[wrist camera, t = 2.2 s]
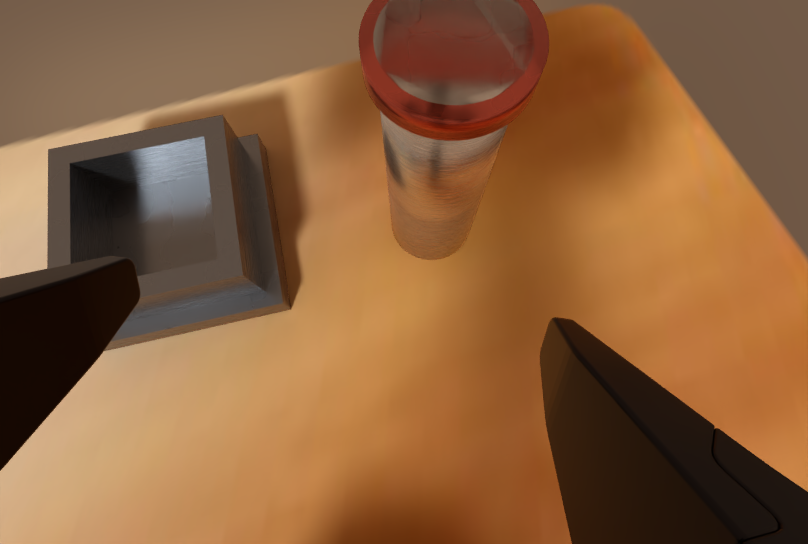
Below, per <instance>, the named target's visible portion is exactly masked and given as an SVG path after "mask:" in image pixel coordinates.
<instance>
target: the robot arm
mask: <svg viewBox="0 0 808 544" xmlns="http://www.w3.org/2000/svg"><path fill="white" fill-rule="evenodd" d="M139 299H140V287H139V282H138V278H137V273H136V268H135V265H134V263H133V261H132V260H130V259H129V258H124V257H117V256H107V257H102V258H97V259H92V260H88V261H83V262H78V263H73V264H68V265H63V266H59V267H54V268H49V269H44V270H39V271H34V272H30V273H25V274H20V275H15V276H10V277H5V278H1V279H0V471H1V470H2V468H3V467H4V466H5V465H6V464H7V463H8V462H9V460H10V459H11V458H12V457H13V456H14V455H15V454H16V452H17V451H18V450H19V449H20V448H21V447H22V446H23V444H24V443H25V442H26V441H27V440H28V439H29V437H30V436H31V435H32V434H33V433H34V432H35V431H36V429H37V428H38V427H39V426H40V425H41V424H42V423H43V421H44V420H45V419H46V418H47V417H48V416H49V415H50V413H51V412H52V411H53V410H54V409H55V408H56V406H57V405H58V404H59V403H60V402H61V401H62V400H63V398H64V397H65V396H66V395H67V394H68V393H69V392H70V390H71V389H72V388H73V387H74V386H75V385H76V384H77V382H78V381H79V380H80V379H81V378H82V377H83V376H84V374H85V373H86V372H87V371H88V370H89V369H90V367H91V366H92V365H93V364H94V363H95V362H96V360H97V359H98V358H99V357H100V355H101V354H102V353H103V351H104V350H105V349H106V347H107V346H108V344H109V343H110V342H111V340H112V339H113V337H114V336H115V335H116V333H117V332H118V330H119V329H120V328H121V326H122V325H123V323H124V322H125V321H126V319H127V318H128V316H129V315H130V313H131V312H132V311H133V309H134V308H135V306H136V305H137V304H138V302H139ZM540 367H541V378H542V389H543V400H544V410H545V420H546V427H547V432H548V437H549V441H550V446H551V451H552V455H553V460H554V464H555V469H556V473H557V478H558V482H559V487H560V491H561V496H562V500H563V505H564V509H565V514H566V518H567V523H568V527H569V532H570V537H571V541H572V544H808V492H807V491H806V490H804V489H803V488H801V487H800V486H798V485H797V484H795V483H794V482H792V481H791V480H789V479H788V478H787V477H785V476H784V475H782V474H781V473H779V472H778V471H776V470H775V469H773V468H772V467H770V466H769V465H768V464H766V463H765V462H764V461H762V460H761V459H759V458H758V457H757V456H755V455H754V454H752V453H751V452H750V451H748V450H747V449H746V448H744V447H743V446H741V445H740V444H739V443H737V442H736V441H735V440H733V439H732V438H731V437H729V436H728V435H727V434H725V433H724V432H723V431H721V430H720V429H718V428H716V429H714V428H715V427H714V425H713V424H712V423H710V422H709V421H708V420H706V419H705V418H704V417H702V416H701V415H700V414H698V413H697V412H696V411H694V410H693V409H692V408H690V407H689V406H688V405H686V404H685V403H684V402H682V401H681V400H680V399H678V398H677V397H675V396H674V395H673V394H671V393H670V392H669V391H667V390H666V389H665V388H663V387H662V386H661V385H659V384H658V383H657V382H655V381H654V380H653V379H651V378H650V377H649V376H647V375H646V374H645V373H643V372H642V371H641V370H639V369H638V368H637V367H635V366H634V365H633V364H631V363H630V362H628V361H627V360H626V359H624V358H623V357H622V356H620V355H619V354H618V353H616V352H615V351H614V350H612V349H611V348H610V347H608V346H607V345H606V344H604V343H603V342H602V341H600V340H599V339H598V338H596V337H595V336H594V335H592V334H591V333H590V332H588V331H587V330H586V329H584V328H583V327H582V326H580V325H579V324H577V323H576V322H575V321H573V320H571V319H564V318H557V317H555V318H552V319H551V320H550V322H549V325H548V328H547V331H546V334H545V338H544V341H543V344H542V347H541V352H540Z"/></svg>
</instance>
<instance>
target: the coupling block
mask: <svg viewBox="0 0 808 544" xmlns="http://www.w3.org/2000/svg"><path fill="white" fill-rule="evenodd" d="M107 256H117V257H124V258H129V259H130V260H132V261H133V263H134V265H135V268H136V273H137V278H138V282H139V287H140V299H139V302H138V304H137V305H136V306H135V308H134V309H133V311H132V312H131V313H130V315H129V316H128V318H127V319H126V321H125V322H124V323H123V325H122V326H121V328H120V329H119V330H118V332H117V333H116V335H115V336H114V337H113V339H112V340H111V342H110V343H109V344H108V346H107V347H106V349H105V350H104V351H107V350H111V349H116V348H120V347H125V346H129V345H134V344H138V343H143V342H147V341H151V340H156V339H160V338H165V337H169V336H174V335H178V334H183V333H187V332H192V331H196V330H201V329H205V328H210V327H214V326H218V325H223V324H227V323H232V322H236V321H241V320H245V319H250V318H254V317H259V316H263V315H268V314H272V313H277V312H281V311H286V310H290V309H291V307H290V300H289V294H288V287H287V281H286V275H285V268H284V262H283V255H282V249H281V243H280V236H279V230H278V223H277V217H276V211H275V204H274V198H273V191H272V185H271V179H270V172H269V166H268V159H267V153H266V148H265V146H264V145H263V143H262V141H261V139H260V138H259V136H258V134H254V135H249V136H244V137H239V138H237V136H236V135H235V133H234V132H233V130H232V128H231V127H230V125H229V124H228V122H227V121H226V119H225V118H224V116H223V115H220V116H215V117H209V118H204V119H199V120H194V121H189V122H184V123H179V124H174V125H169V126H164V127H159V128H154V129H149V130H144V131H139V132H134V133H129V134H124V135H119V136H114V137H109V138H104V139H99V140H94V141H89V142H84V143H78V144H73V145H68V146H63V147H58V148H53V149H48V267H47V269H49V268H54V267H59V266H63V265H68V264H73V263H78V262H83V261H88V260H92V259H97V258H102V257H107Z"/></svg>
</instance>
